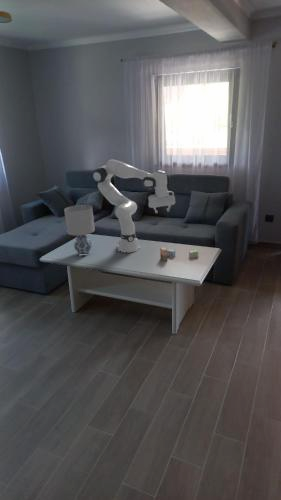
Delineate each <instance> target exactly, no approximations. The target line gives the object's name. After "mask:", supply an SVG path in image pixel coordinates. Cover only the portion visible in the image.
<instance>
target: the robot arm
mask: <svg viewBox="0 0 281 500" xmlns="http://www.w3.org/2000/svg"><path fill="white" fill-rule="evenodd" d="M115 176H117V177H119V178H121V179H131V178H132V179H133V178H137V179H140V180H142V181H141V182H142V186H143V188H144V189H146V190H152V189H155V190H154V191H155V194H150V195H149V196H148V198H147V199H148V208H151V209H153V210H154V213H155V214H158V213H159V212H158V210H157V208H160V207H167V208H166V211H167V212H170V211H171V210H170V209H171V207H172V206H174V205H175V204H176V197H175V192H173V191H171V190H168V176H167V173H166V171H164V170H155V171H154V172H148V171H146V170H142V169H140V168H137V167H135V166H132V165H130V164H128V163H125V162H123V161H122V160H121V161H120V160H117V159H109V160H108V161H107V162H106V164H105V165H103V166H102V165H101V166H100V167H98V168H96V169H94V171H93V172H92V179H93V180H94V182H96V183H97V188H98V190H99V192H100V193H101V195H102V196H103V197H104V198H105V199H106V200H107V201H108V202H109V203H110V204H111V205H114V206H115V207H116V208H115V211H114V215H115V217H116V218H117V219H118V221H119V224H120V231H121V233H120V238H119V241H118V242H117V245H116V248H117V252H118V251H121V252H120V253H126V252H127V253H134V252H137V251H138V250H140V249H141V246H140V245H139V239H138V238H137V233H136V227H135V222H133V219H132V215H134V214H135V213H136V211H137V210H138V205H137V203H136V202H135V201H134V200H131V199H129V198H128V197H127V196H124V195H123V194H122V193H121V192H120V191H119V190H118V189H117V187H115V186H114V185H113V184H112V182H111V181H113V179H114V177H115ZM127 253H126V254H127Z"/></svg>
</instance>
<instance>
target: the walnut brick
mask: <svg viewBox="0 0 281 500" xmlns="http://www.w3.org/2000/svg"><path fill="white" fill-rule="evenodd" d="M159 255H160V260H161V261H162V262H168V256H167V255H166V256H163V255H162V254H160V253H159Z"/></svg>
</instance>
